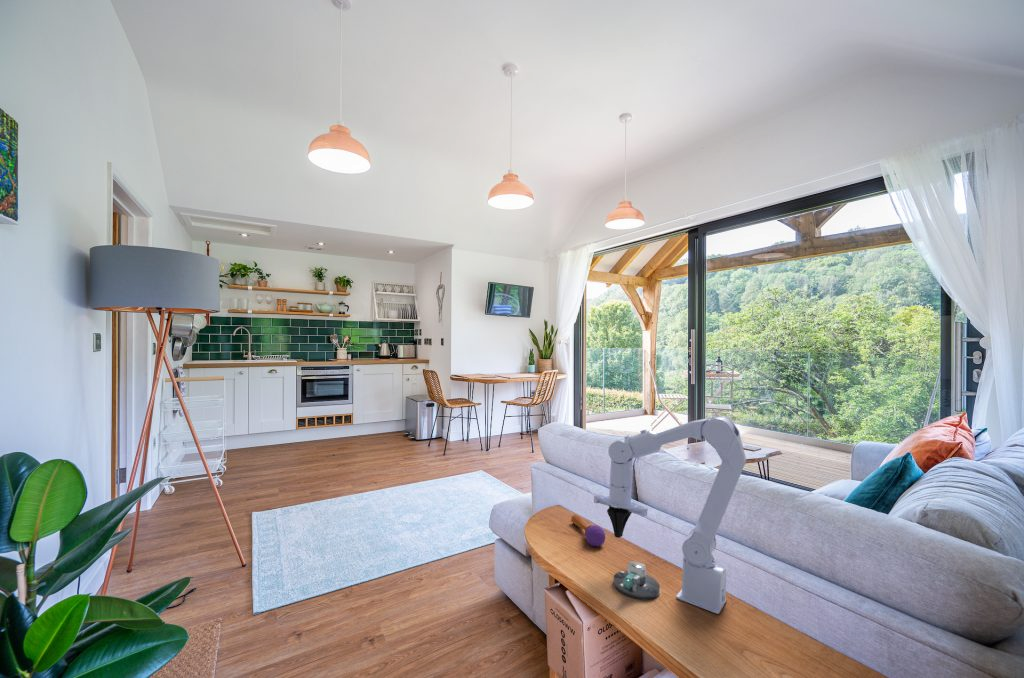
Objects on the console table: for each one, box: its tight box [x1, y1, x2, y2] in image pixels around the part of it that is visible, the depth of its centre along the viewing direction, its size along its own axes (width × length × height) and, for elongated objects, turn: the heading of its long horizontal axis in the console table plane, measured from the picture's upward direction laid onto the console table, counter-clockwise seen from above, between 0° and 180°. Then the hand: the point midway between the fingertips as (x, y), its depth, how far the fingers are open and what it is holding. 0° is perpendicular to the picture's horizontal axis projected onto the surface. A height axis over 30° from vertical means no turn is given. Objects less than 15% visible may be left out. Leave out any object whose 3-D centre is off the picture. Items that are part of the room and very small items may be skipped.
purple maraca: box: [570, 514, 606, 547], centre depth 137 cm, size 6×6×20 cm
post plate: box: [613, 570, 661, 601], centre depth 106 cm, size 11×11×4 cm
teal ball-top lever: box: [623, 560, 647, 590], centre depth 104 cm, size 10×4×4 cm, turn 146°
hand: (618, 536), depth 114 cm, fingers closed
